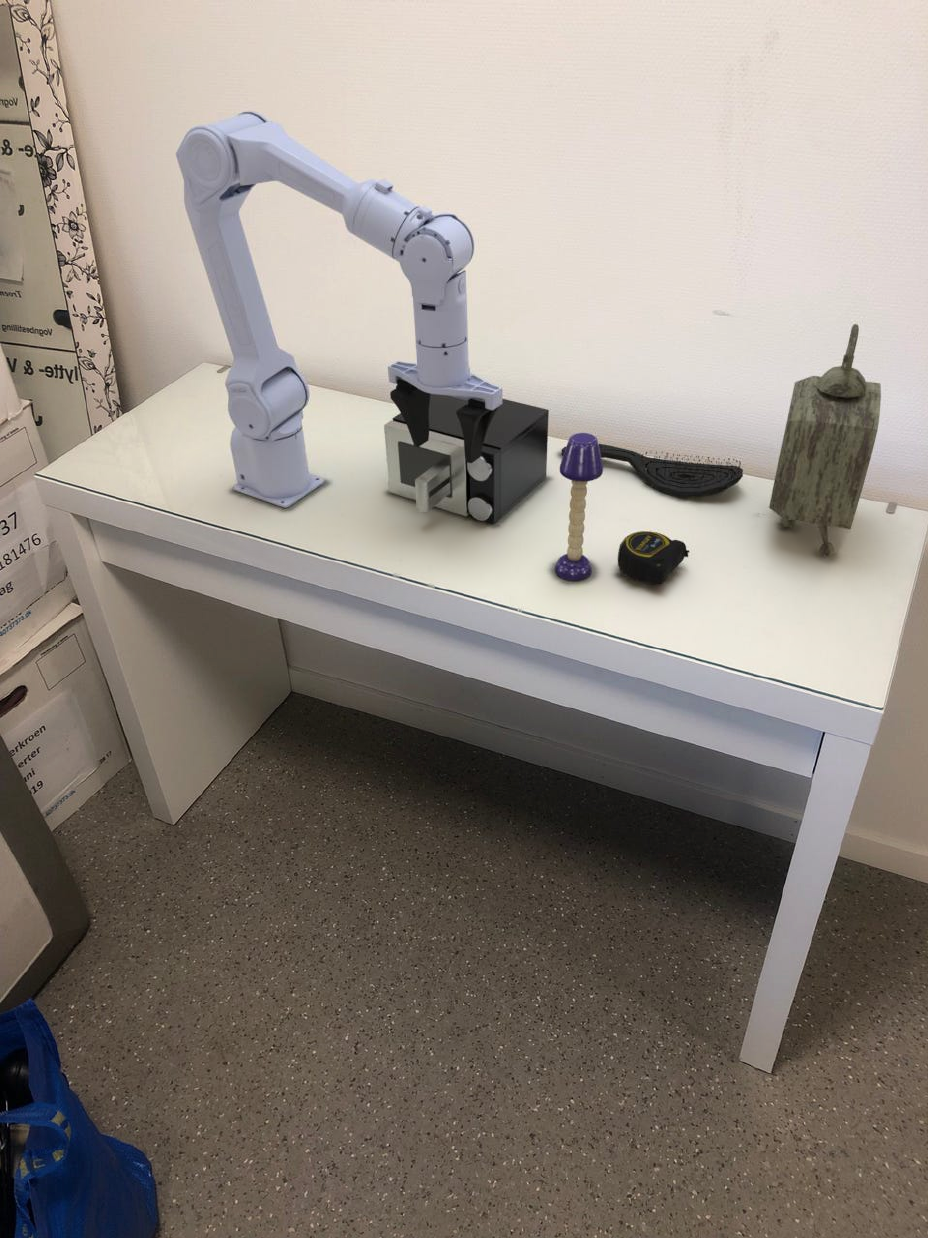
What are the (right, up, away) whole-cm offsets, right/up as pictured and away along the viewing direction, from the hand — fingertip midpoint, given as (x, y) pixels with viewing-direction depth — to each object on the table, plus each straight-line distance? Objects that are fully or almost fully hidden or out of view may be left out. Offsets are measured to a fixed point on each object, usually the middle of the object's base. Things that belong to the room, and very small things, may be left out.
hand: (446, 451), depth 108 cm
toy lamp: (+15, -14, -1) cm, 21 cm away
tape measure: (+24, -15, -2) cm, 28 cm away
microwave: (+3, -2, +14) cm, 14 cm away
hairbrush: (+27, 0, +16) cm, 31 cm away
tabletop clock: (+44, -9, +4) cm, 45 cm away
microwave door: (-4, -6, +9) cm, 12 cm away
